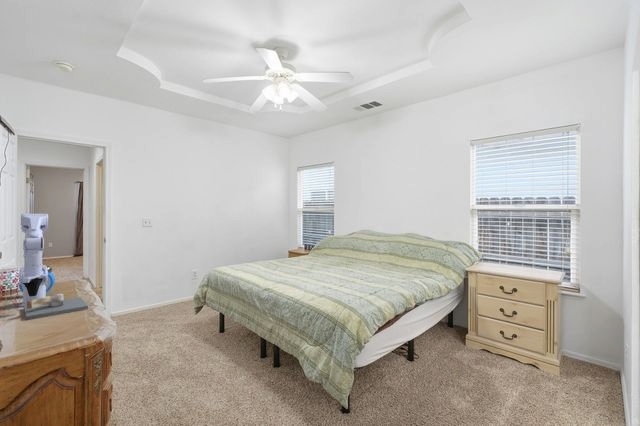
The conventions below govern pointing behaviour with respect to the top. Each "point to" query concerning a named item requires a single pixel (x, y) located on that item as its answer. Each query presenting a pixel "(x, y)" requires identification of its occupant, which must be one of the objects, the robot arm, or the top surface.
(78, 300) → the latch plate
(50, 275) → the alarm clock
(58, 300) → the grey beige handled piece
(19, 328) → the top surface
